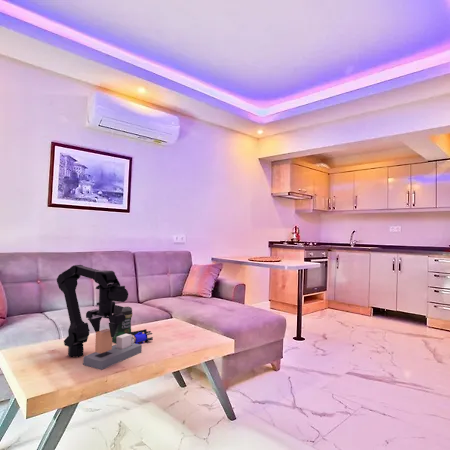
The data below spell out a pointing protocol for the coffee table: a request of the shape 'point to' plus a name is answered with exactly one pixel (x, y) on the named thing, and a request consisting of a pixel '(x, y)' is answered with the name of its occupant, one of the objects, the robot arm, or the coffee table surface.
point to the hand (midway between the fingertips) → (105, 335)
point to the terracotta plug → (103, 341)
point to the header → (111, 356)
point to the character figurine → (140, 336)
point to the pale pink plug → (123, 341)
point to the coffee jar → (124, 323)
